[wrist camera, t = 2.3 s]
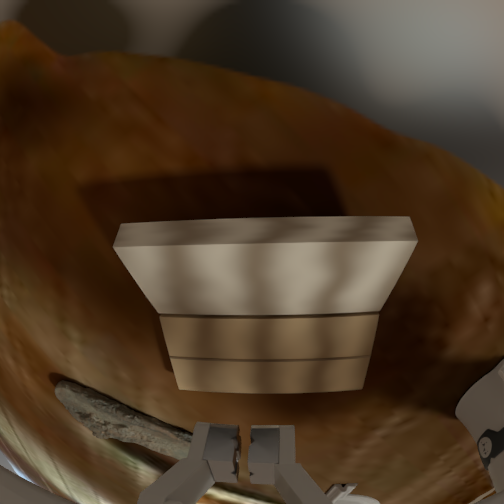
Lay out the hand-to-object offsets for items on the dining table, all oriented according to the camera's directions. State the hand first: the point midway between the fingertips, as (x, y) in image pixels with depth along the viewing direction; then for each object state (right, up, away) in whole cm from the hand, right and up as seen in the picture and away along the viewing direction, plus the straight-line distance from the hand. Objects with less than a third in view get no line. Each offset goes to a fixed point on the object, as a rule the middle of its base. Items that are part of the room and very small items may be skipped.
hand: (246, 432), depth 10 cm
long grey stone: (-19, -24, +38) cm, 49 cm away
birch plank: (+1, +6, +19) cm, 20 cm away
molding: (+31, -60, +50) cm, 84 cm away
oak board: (+2, -5, +27) cm, 28 cm away
